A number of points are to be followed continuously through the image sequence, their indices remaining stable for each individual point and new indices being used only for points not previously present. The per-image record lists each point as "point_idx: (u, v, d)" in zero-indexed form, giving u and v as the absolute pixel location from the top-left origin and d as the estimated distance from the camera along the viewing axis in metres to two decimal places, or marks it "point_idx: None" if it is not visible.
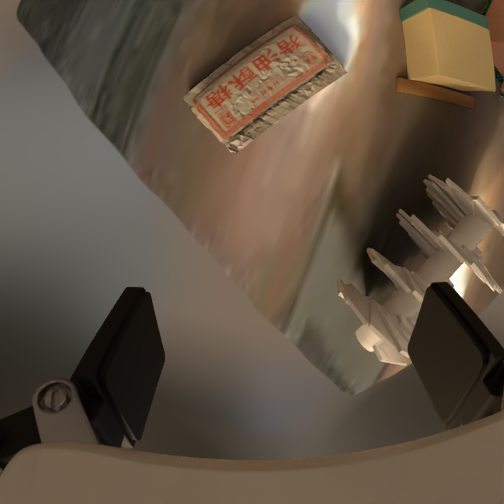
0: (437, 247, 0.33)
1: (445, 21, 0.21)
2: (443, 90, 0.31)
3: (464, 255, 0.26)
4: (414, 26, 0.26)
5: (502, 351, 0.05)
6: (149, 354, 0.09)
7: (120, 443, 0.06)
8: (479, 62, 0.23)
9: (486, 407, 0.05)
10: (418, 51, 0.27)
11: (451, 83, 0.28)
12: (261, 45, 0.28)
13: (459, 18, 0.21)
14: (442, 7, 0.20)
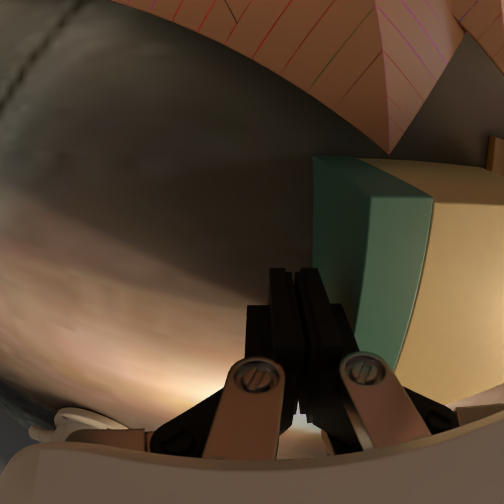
0: None
1: (414, 390, 0.10)
2: None
3: None
4: None
5: (338, 340, 0.07)
6: None
7: None
8: None
9: (322, 402, 0.06)
10: None
11: None
12: None
13: (405, 353, 0.09)
14: None
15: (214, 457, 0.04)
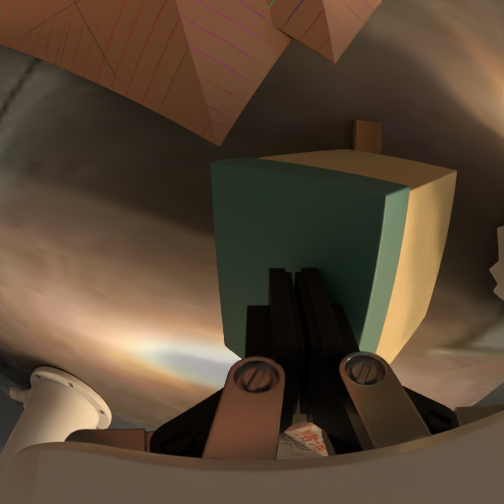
0: None
1: (384, 354, 0.13)
2: None
3: None
4: None
5: (339, 340, 0.07)
6: None
7: None
8: (437, 230, 0.13)
9: (322, 402, 0.06)
10: None
11: None
12: None
13: (385, 326, 0.11)
14: None
15: (214, 457, 0.04)
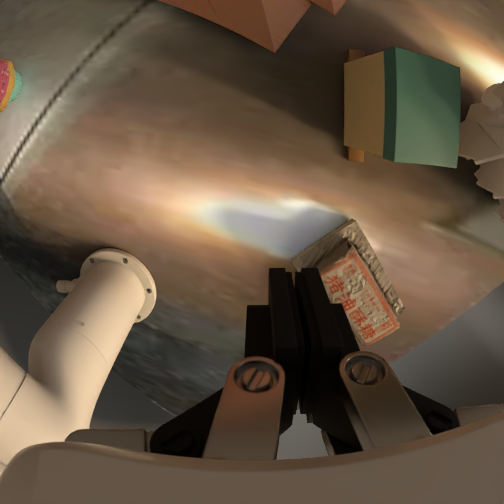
0: None
1: None
2: None
3: None
4: None
5: (339, 340, 0.07)
6: None
7: None
8: None
9: (322, 402, 0.06)
10: None
11: None
12: (330, 301, 0.38)
13: None
14: None
15: (214, 457, 0.04)
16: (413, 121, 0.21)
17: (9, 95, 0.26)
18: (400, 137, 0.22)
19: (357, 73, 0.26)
